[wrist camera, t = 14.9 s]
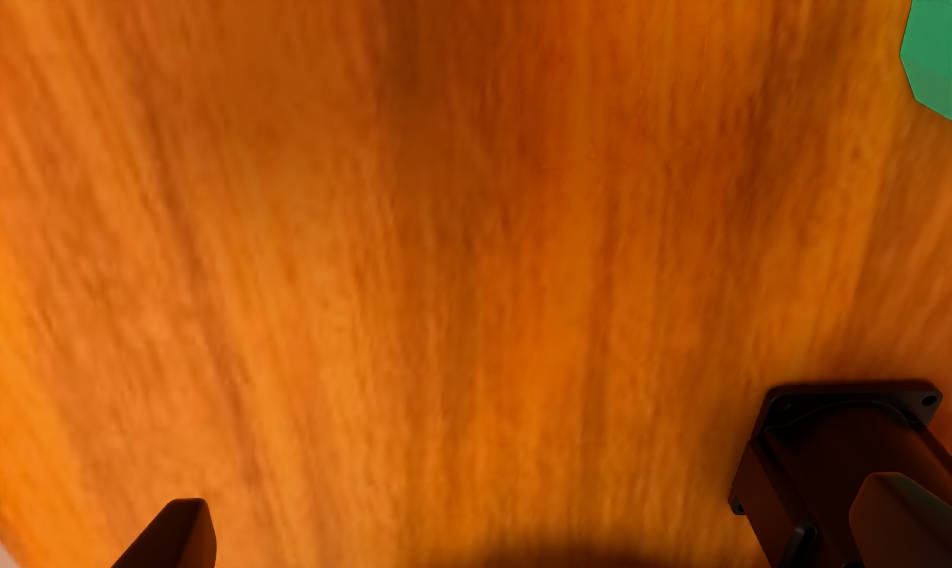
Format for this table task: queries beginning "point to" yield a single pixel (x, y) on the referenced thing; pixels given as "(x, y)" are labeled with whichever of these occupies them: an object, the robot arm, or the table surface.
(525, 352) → the table surface
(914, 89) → the candle
